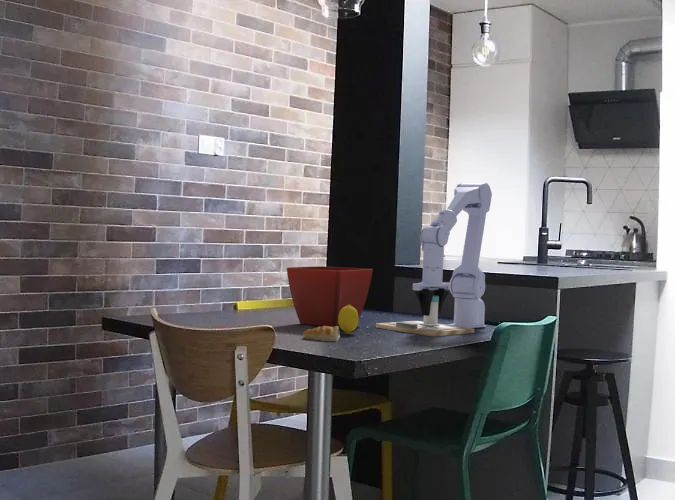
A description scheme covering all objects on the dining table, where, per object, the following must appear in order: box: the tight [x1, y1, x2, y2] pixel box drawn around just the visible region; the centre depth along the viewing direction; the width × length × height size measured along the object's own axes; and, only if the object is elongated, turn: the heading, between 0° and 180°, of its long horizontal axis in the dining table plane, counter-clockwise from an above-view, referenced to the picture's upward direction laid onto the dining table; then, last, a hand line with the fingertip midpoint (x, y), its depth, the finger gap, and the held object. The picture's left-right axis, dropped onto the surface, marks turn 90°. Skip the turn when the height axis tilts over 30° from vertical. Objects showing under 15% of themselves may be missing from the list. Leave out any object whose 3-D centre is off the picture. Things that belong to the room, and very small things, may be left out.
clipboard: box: [375, 320, 475, 337], centre depth 236 cm, size 18×22×2 cm
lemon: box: [338, 305, 360, 335], centre depth 221 cm, size 6×6×8 cm
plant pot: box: [286, 265, 373, 328], centre depth 241 cm, size 19×19×17 cm
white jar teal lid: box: [423, 295, 439, 324], centre depth 233 cm, size 4×4×8 cm
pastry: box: [302, 326, 341, 342], centre depth 208 cm, size 9×7×4 cm
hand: (430, 315), depth 233 cm, fingers closed on white jar teal lid, 4 cm apart
